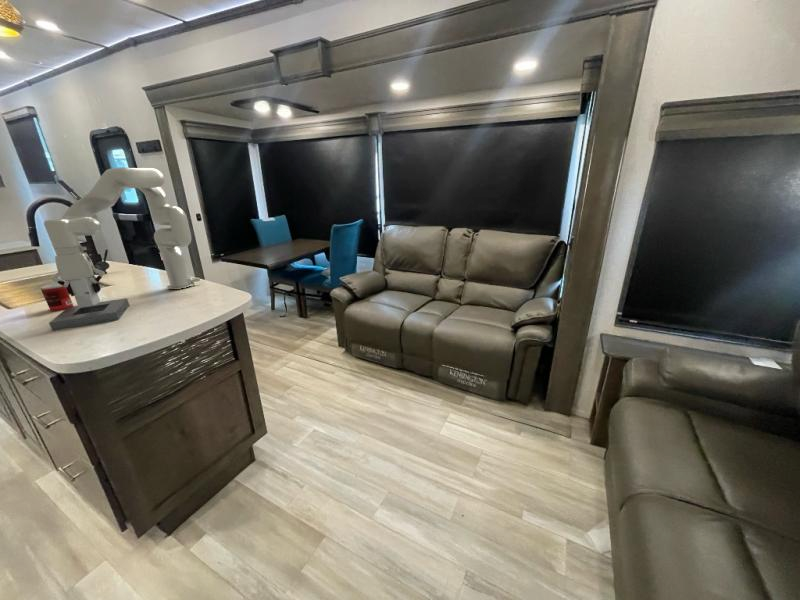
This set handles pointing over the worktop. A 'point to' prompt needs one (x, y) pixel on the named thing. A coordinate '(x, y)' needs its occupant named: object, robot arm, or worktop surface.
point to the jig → (89, 314)
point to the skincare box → (84, 292)
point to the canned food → (56, 297)
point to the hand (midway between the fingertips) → (86, 293)
